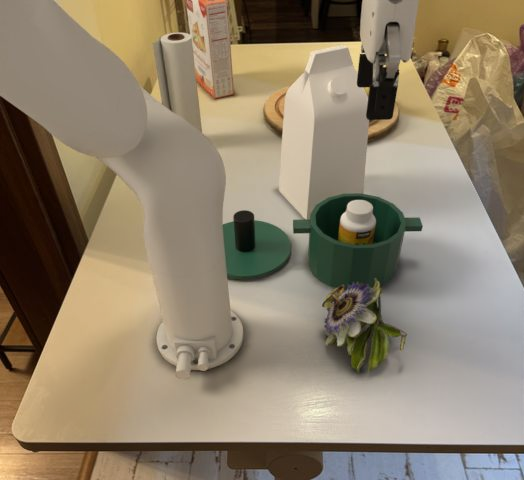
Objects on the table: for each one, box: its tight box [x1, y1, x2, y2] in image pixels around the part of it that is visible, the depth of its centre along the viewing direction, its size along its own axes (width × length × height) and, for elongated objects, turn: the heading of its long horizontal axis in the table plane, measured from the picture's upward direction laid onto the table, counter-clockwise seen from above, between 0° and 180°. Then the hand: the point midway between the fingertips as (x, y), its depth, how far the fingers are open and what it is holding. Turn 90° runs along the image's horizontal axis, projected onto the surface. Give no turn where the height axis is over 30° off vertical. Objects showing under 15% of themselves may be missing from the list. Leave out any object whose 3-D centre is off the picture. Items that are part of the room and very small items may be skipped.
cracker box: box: [185, 0, 235, 100], centre depth 128 cm, size 14×6×21 cm, turn 25°
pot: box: [292, 193, 424, 290], centre depth 83 cm, size 15×20×8 cm
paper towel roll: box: [151, 32, 203, 133], centre depth 108 cm, size 7×6×21 cm
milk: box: [278, 44, 369, 219], centre depth 90 cm, size 12×12×26 cm
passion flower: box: [321, 278, 408, 373], centre depth 72 cm, size 11×11×12 cm
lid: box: [223, 209, 292, 279], centre depth 86 cm, size 16×16×7 cm
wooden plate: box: [263, 84, 401, 143], centre depth 120 cm, size 32×32×8 cm
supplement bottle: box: [338, 200, 376, 245], centre depth 82 cm, size 6×6×10 cm
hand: (373, 101), depth 67 cm, fingers open, 9 cm apart
